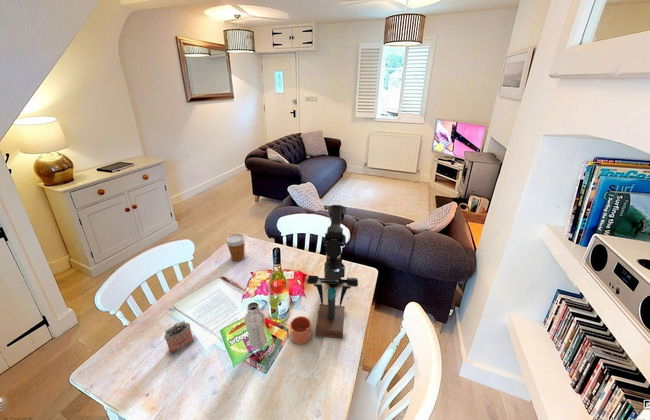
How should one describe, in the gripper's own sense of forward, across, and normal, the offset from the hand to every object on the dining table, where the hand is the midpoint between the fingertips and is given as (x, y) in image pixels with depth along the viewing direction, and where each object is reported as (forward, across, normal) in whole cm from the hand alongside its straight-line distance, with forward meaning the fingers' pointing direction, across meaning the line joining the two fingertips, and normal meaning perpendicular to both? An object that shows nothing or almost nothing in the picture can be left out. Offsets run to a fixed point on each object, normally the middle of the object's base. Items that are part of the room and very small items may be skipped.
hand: (331, 305), depth 98 cm
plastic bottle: (+16, -24, 0) cm, 29 cm away
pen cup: (+11, -11, +5) cm, 16 cm away
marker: (+4, 0, +6) cm, 7 cm away
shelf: (+7, 0, +9) cm, 11 cm away
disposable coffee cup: (-21, -51, +36) cm, 66 cm away
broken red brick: (+17, -52, -1) cm, 54 cm away
